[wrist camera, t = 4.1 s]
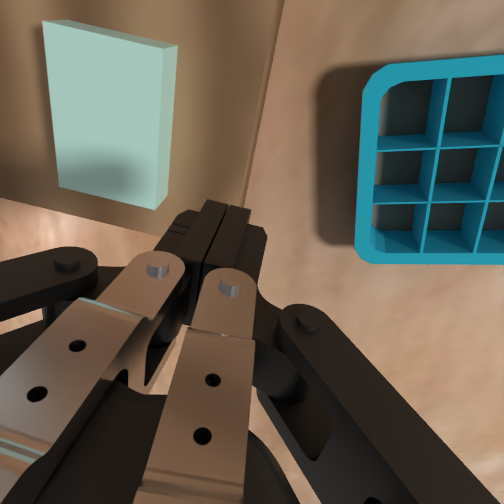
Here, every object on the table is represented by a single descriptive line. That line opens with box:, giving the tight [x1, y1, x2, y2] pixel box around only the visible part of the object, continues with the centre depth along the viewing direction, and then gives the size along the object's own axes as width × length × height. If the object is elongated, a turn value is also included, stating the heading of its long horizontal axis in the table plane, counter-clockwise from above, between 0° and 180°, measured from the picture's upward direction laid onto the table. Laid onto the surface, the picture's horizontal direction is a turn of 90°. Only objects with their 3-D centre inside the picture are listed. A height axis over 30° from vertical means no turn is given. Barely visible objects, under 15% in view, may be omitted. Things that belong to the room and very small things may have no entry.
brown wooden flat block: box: [0, 0, 284, 237], centre depth 22 cm, size 16×14×4 cm
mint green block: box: [42, 20, 178, 210], centre depth 20 cm, size 6×8×2 cm
